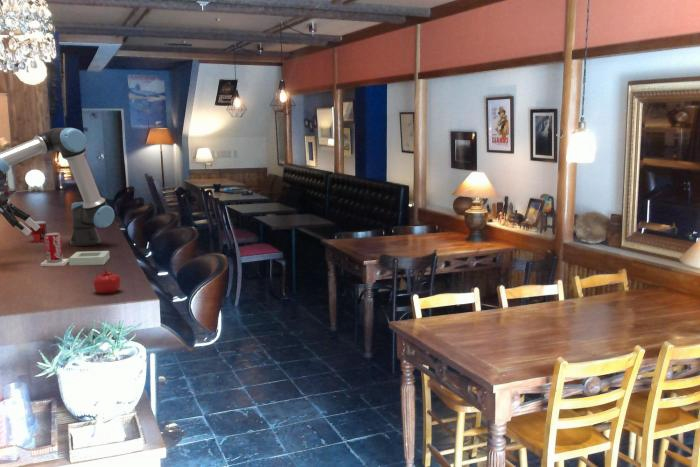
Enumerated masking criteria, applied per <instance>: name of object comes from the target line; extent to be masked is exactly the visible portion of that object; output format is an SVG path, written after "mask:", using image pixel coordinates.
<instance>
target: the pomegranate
mask: <svg viewBox="0 0 700 467" xmlns="http://www.w3.org/2000/svg"><path fill="white" fill-rule="evenodd" d="M103 271H104V273H103V272H97V274H98V275H97V276H95V278H94V280H93V283H92V284H93V288H94V290H95V292H96V293H97V294H101V295H102V294H103V295H104V294H113V293H115V292H117V291H119V289H120V288H121V283H122V279H121V277H120V276H119V275H118V274H117V273H115V272H116V271H113V270H112V271H109V272H108V270H107V268H104V269H103Z"/></svg>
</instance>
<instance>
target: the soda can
mask: <svg viewBox="0 0 700 467" xmlns="http://www.w3.org/2000/svg"><path fill="white" fill-rule="evenodd" d="M44 241H45V242H44V251H45V252H44V254H45V260H47V262H60V261H62V259H64V257H63V256H64V254H63V245H62V236H61V234H60V232H49V233H47V234H45V237H44Z"/></svg>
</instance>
